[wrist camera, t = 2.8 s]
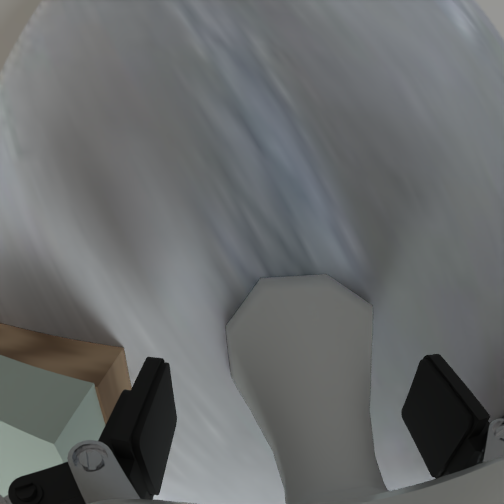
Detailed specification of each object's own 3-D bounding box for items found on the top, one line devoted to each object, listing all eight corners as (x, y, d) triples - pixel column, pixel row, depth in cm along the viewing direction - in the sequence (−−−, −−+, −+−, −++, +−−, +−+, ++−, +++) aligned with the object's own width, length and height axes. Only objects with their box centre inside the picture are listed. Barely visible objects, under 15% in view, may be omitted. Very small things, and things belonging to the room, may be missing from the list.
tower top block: (94, 383, 12) (54, 444, 8) (137, 509, 15) (124, 553, 11) (-55, 331, 12) (-94, 359, 8) (5, 458, 15) (-16, 489, 11)
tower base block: (127, 342, 16) (97, 387, 12) (156, 472, 19) (145, 512, 15) (-17, 314, 16) (-52, 339, 12) (31, 435, 19) (11, 464, 15)
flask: (245, 251, 14) (223, 427, 4) (393, 290, 14) (523, 431, 4) (210, 381, 16) (176, 557, 6) (338, 405, 16) (382, 560, 6)
